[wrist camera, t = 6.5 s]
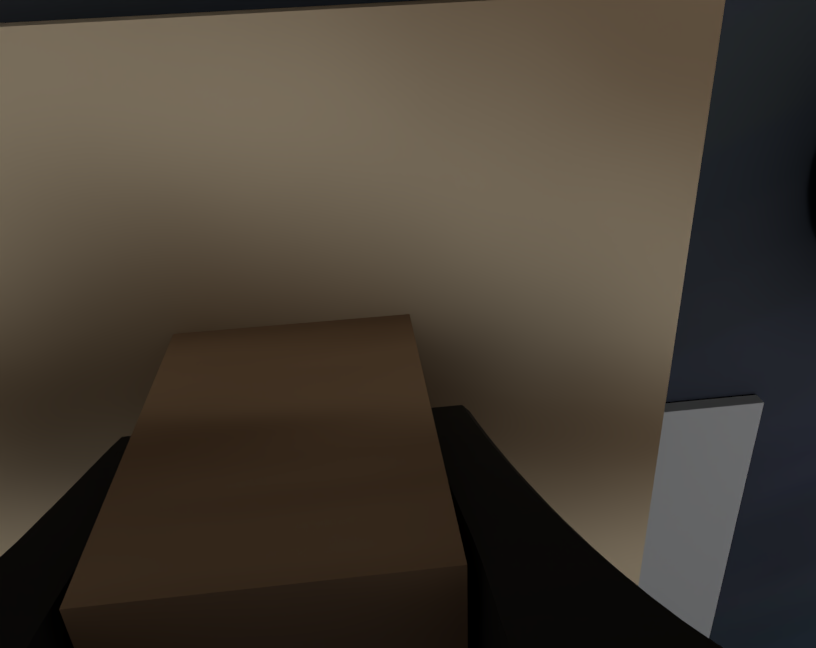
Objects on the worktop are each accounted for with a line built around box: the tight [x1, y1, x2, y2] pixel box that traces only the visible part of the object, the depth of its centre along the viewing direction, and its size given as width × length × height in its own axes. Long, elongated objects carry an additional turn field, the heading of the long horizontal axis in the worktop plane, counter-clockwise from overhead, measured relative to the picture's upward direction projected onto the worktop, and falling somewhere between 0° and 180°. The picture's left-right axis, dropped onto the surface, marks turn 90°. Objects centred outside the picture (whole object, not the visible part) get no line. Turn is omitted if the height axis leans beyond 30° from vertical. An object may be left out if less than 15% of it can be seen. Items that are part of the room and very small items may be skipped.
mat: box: [638, 395, 764, 638], centre depth 22 cm, size 13×13×1 cm
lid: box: [0, 0, 725, 648], centre depth 9 cm, size 12×12×6 cm
